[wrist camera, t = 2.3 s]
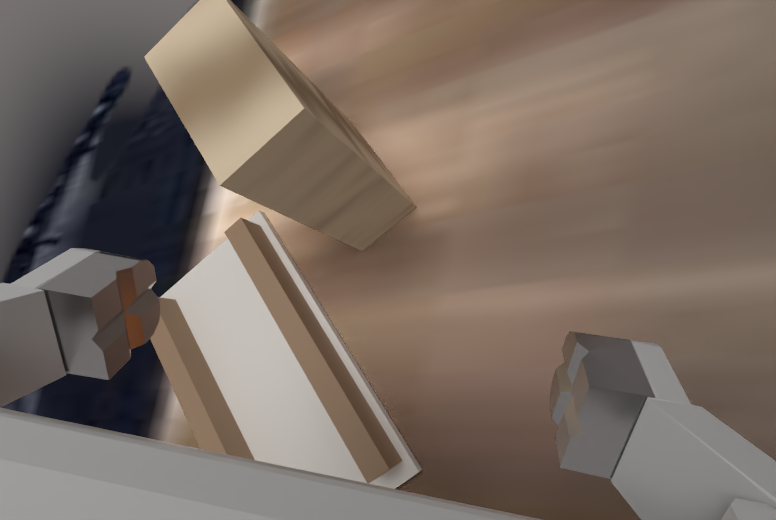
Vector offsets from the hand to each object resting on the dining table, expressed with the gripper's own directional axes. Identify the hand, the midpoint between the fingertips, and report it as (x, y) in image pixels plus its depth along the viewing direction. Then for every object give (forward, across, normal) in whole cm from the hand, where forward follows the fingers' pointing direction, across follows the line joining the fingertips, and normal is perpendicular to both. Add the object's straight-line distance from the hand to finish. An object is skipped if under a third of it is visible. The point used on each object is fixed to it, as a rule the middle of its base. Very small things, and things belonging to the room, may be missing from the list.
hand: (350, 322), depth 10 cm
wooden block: (+24, +5, +6) cm, 25 cm away
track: (+17, +8, +17) cm, 25 cm away
